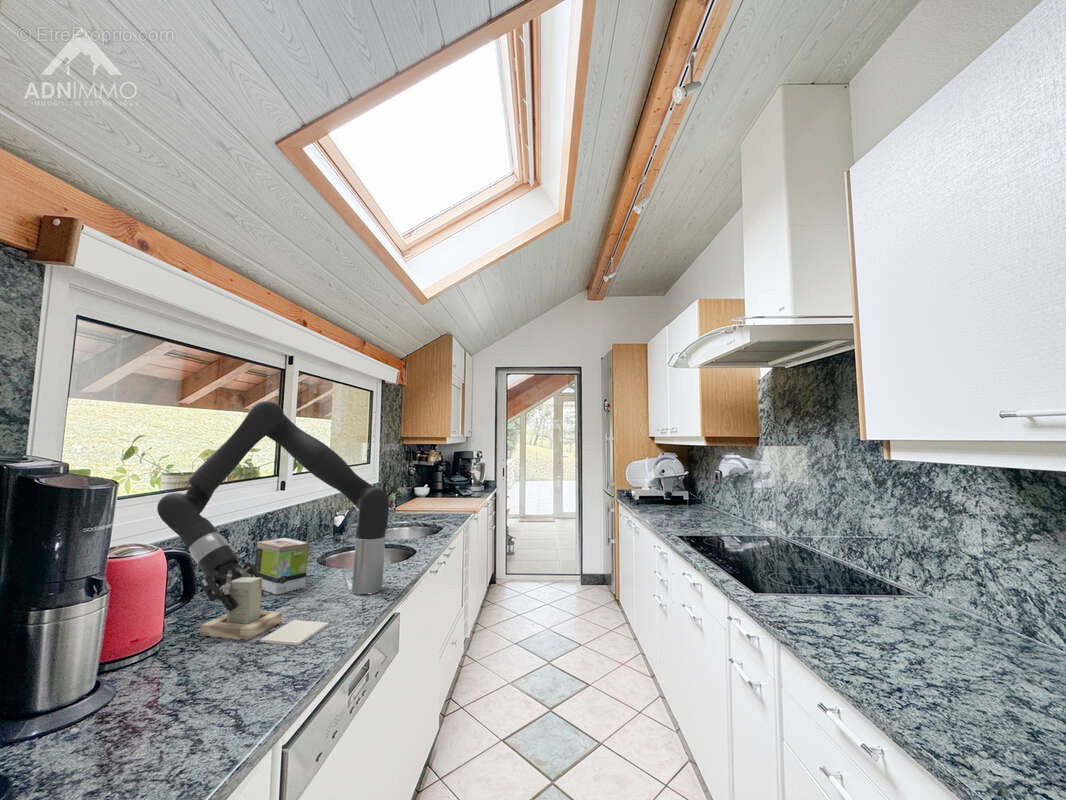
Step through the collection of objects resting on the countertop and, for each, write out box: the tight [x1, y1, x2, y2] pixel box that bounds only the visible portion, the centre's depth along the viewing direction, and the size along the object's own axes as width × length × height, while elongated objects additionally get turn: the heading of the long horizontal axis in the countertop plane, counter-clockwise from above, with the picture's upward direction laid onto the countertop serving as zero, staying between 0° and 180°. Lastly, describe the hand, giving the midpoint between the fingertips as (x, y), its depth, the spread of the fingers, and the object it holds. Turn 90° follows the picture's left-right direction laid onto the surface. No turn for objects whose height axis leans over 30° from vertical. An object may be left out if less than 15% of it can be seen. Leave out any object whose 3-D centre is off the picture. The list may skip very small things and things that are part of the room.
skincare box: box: [226, 576, 263, 625], centre depth 110 cm, size 6×4×12 cm
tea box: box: [253, 537, 310, 596], centre depth 142 cm, size 15×10×15 cm, turn 58°
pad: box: [259, 619, 330, 646], centre depth 107 cm, size 12×10×1 cm
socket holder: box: [199, 610, 283, 641], centre depth 109 cm, size 11×13×2 cm
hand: (248, 602), depth 110 cm, fingers open, 8 cm apart
